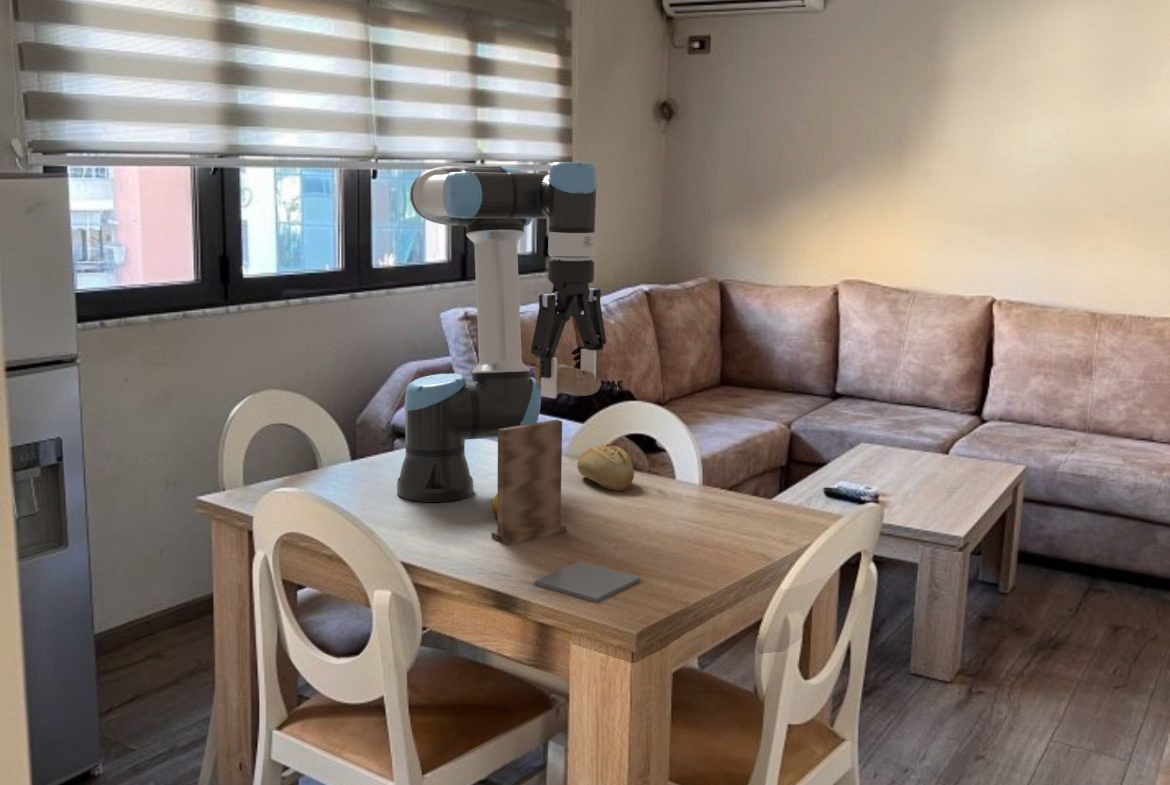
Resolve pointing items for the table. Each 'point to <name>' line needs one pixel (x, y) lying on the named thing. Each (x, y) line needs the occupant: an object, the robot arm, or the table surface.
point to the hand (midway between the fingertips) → (568, 392)
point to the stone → (572, 380)
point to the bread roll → (607, 467)
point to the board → (529, 482)
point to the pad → (587, 581)
